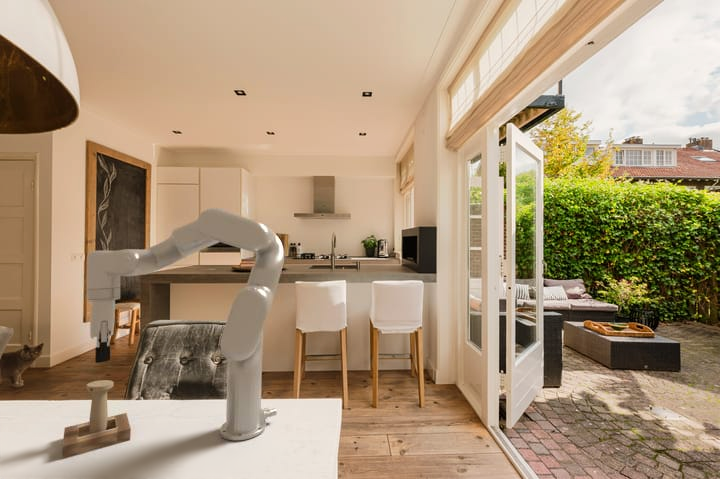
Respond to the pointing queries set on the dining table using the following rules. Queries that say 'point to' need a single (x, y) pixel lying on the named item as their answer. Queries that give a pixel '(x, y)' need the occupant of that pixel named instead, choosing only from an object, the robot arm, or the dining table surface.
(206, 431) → the dining table surface
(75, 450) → the wooden frame
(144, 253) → the robot arm
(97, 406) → the handle
